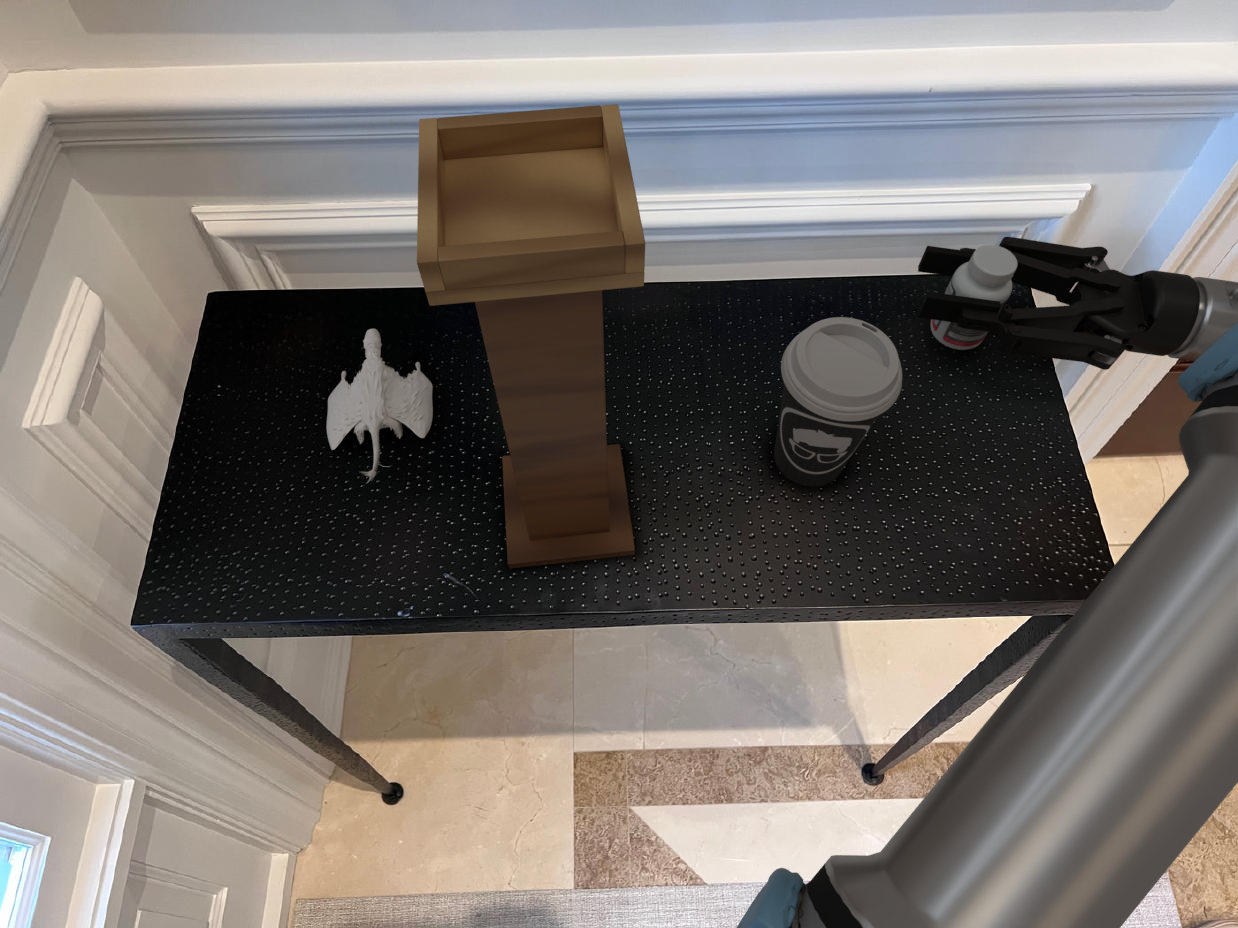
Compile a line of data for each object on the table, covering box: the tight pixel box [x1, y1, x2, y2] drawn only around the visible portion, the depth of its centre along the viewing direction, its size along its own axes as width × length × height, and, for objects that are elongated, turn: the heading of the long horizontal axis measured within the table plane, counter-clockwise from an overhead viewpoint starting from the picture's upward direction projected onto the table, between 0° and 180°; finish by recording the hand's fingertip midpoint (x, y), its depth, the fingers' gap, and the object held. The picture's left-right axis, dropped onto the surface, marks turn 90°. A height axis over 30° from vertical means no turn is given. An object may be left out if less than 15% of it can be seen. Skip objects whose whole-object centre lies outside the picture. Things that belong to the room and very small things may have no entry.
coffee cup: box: [773, 316, 903, 488], centre depth 68 cm, size 10×10×15 cm
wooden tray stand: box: [416, 103, 646, 569], centre depth 56 cm, size 11×11×36 cm
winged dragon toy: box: [326, 328, 434, 485], centre depth 75 cm, size 18×10×4 cm, turn 9°
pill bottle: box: [930, 244, 1017, 351], centre depth 76 cm, size 5×5×10 cm
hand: (923, 281), depth 75 cm, fingers closed on pill bottle, 5 cm apart
